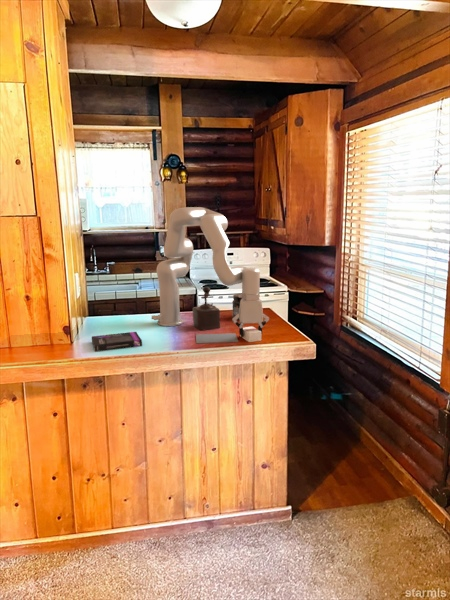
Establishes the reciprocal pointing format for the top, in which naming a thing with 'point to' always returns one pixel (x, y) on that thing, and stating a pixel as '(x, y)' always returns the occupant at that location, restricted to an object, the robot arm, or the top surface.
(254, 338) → the card box
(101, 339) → the box
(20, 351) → the top surface
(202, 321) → the vintage coffee grinder
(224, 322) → the top surface
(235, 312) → the supplement container
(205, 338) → the mat
